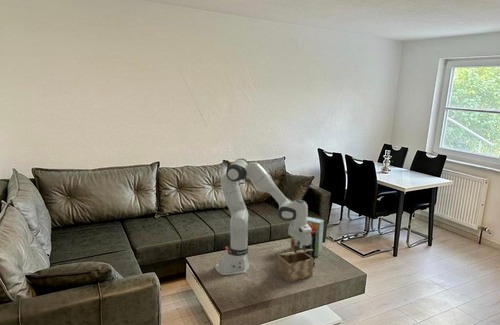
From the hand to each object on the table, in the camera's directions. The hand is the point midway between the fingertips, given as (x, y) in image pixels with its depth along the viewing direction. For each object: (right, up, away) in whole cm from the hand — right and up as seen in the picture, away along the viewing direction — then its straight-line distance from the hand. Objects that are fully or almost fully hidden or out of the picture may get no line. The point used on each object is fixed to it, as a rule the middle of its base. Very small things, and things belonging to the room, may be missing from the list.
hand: (298, 246), depth 218 cm
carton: (-1, -19, +6) cm, 20 cm away
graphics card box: (+7, -16, +24) cm, 30 cm away
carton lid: (-1, -5, +3) cm, 6 cm away
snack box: (+11, -13, +39) cm, 42 cm away
